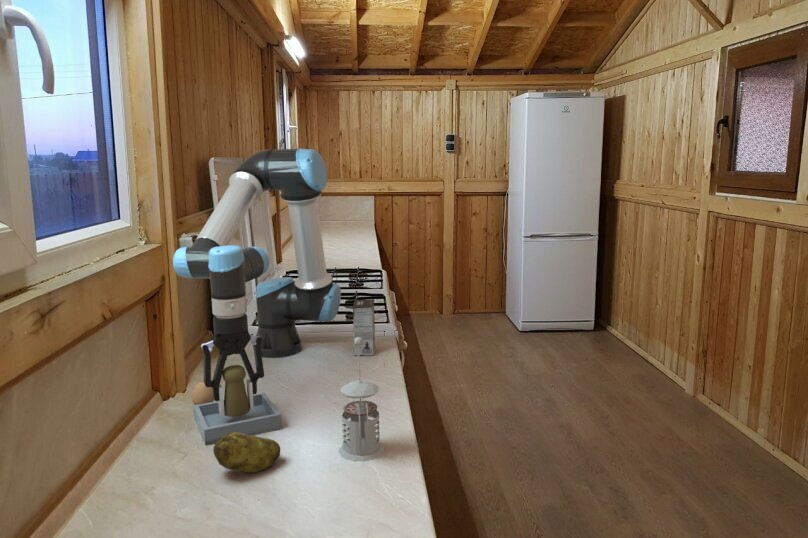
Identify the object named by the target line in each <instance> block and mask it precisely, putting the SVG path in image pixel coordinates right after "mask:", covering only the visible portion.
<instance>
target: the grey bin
mask: <svg viewBox="0 0 808 538" xmlns="http://www.w3.org/2000/svg"><path fill="white" fill-rule="evenodd" d="M247 399H248V398H247ZM253 404H254V409H252V410H250V411H249V412H248V413H247V414H245V415H242V416H238V417H228V416H225V415H221V414H220V412H219V403H218V401H215V400H214V402H210V403H205V404H199V405H194V404H193V416H194V421H195V423H197V424H196V425H197V428H198V431H199V430H200V431H199V434H200V435H201V438H202V441H203V443H204V445H205V446H208V445H212V444H215V443H216V442H217V440H218V439H219V438H220V437H223V436H224V435H226V434H230V433H243V434H247V435H251V436H256V435H259V434H264V433H268V432H273V431H277V430H282V427H283V426H282V414H281V413H280V411H279V410H278V409H277V407H276V405H274V403H273V402H272V401H271V399H270V397H269V396H268V395H267V394H266V392H259V393H258V392H257V393H256V394H253Z"/></svg>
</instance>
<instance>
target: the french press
mask: <svg viewBox="0 0 808 538" xmlns="http://www.w3.org/2000/svg"><path fill="white" fill-rule="evenodd" d="M354 343H355V344H358V353H359V356H358V379H357V380H354V381H350V382H347V384H345V385H343V386H342V387H341V388H340V393H341V394H342V395H343V396H344V397H346V398H350V399H359V400H353V401H351V402H347V403H346V404H345V405H344V406H343V412H342V415H341V421H342V422H343V423H342V424H341V425H342V427H341V428H342V431H341V432H342V439H343V440H342V445H341V446H340V447H339V449H338V454H339V456H340V457H341V458H344V459H345V460H348V461H353V462H366V461H371V460H374V458H375V459H377V458H379V457H381V456H382V455H383V454H384V452H385V446H384V445H383V444H382V443H381V442H380V438H381V437H380V412H379V411H378V405H377V404H376V403H375V402H373V401H367V400H362V399H366V398H367V399H368V398H370V397H372V396H375V395H376V394H377V393H378V392H379V390H380V387H379V386H378V385H377V384H376V383H374V382H371V381H368V380H365V379H364V380H361V359H360V357H361V356H360V348H359V344H362V343H363V339H362V338H360V337H357V338H355V339H354V338H353V344H354ZM369 417H370V419H369ZM371 418H372V419H371ZM349 419H350V420H349ZM346 432H347V433H346Z"/></svg>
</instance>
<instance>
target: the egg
mask: <svg viewBox="0 0 808 538" xmlns="http://www.w3.org/2000/svg"><path fill="white" fill-rule="evenodd" d="M191 401H192V404H193V406H194V405H199V404H205V403H210V402H215V400H214V398H213V388H212V387H206V386H205V384H204V381H201V382H198V383H196V385H195V386H194V388H193V389H192V393H191Z"/></svg>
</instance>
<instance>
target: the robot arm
mask: <svg viewBox="0 0 808 538" xmlns="http://www.w3.org/2000/svg"><path fill="white" fill-rule="evenodd" d="M327 178H328V174H327V168H326V163H325V162H324V159H323V157H322V155H321V154H320V153H319V152H318V151H317V150H315V149H309V148H308V149H307V148H280V149H275V148H273V149H272V148H271V149H270V148H269V149H268V148H267V149H263V150H259V151H257V152H254V153H253V154H252V155H250V156H248V157H247V158H246V159H244V160H243V161H242V162H241V163H240V164H239V165H238V166H237V167H236V168H235V169H234V171H233V172H232V173H231V175H230V177H229V179H228V184H229V186H228V187H227V188H226V190H225V192H224V194H223V195H222V197H221V198H220V200H219V202H218V204H217V205H216V206H215V208H214V210H213V211H212V213H211V215H210V216H209V218H208V219H207V221H206V223H205V224H204V226H203V227H202V228H201V230H200V233H199V234H198V236H197V237H196V238H195V240H194V242H193V243H192V245H191V246H190V247H189V246H185V247H179V248H178V249H177V250H176V251H175V252H174V254H173V259H172V266H173V270H174V271H175V273H176V275H177V276H178V277H181V278H186V279H193V280H197V279H201V280H202V279H203V280H204V279H205V280H207V279H209V280H210V281H209V282H210V293H211V294H210V295H211V309H212V310H211V312H212V314H213V317H212V320H213V321H212V324H213V325H212V326H213V337H212V340H210V341H207V342H202V343H200V347H201V350H202V353H203V382H204V384H205V386H206V387H212V388H213V398H214V402H215V401H218V403H219V412H220V414H221V415H225V413H224V389H223V386H222V384H221V382H222V378H223V376H222V373H223V370H224V369H225V365H226V360H228V356H231V355H239V356H240V359H241V361H242V363H243V365H244V366H243V367H244V369H245V371H246V374H247V375H248V377H249V379H246V381H245V382H246V383H245V384H246V394H247V398H248V404H249V408H250V410H252V409H254V404H253V394H258V388H257V387H258V383H257V382H258V381H259V379H263V378H264V377H265V371H264V363H263V357H266V358H282V357H287V356H292V355H295V354H298V353H299V352H300V351H301V350H302V345H303V344H302V340H301V337H300V334H299V331H298V329H297V327H296V321H306V322H307V321H309V322H319V323H321V322H331V321H333V320H334V319H335V318H336V317H337V315H338V312H339V308H340V305H341V298H342V296H341V295H342V291H341V290H342V289H341V287H340V285H339V284H337V283H334V282H333V276H332V275H331V274H330V273H328V272H327V265H326V257H325V250H324V249H325V248H324V244H323V236H322V235H323V234H322V227H321V218H320V213H319V212H320V211H319V205H318V203H319V202H318V200H319V199H320V197H321V196H322V191H323V190H324V189H325V188H326V187H327V183H328V181H327V180H328V179H327ZM268 191H280V197H281V200H282V201H283V202H285V203H286V204H287V207H288V215H289V220H290V221H289V222H290V223H289V224H290V229H291V235H292V240H293V241H292V242H293V248H294V255H295V256H294V257H295V262H296V267H297V268H296V269H297V275H298V277H297V278H296V279H295V280H294V278H293V277H291V276H289V277H288V276H284V277H276V278H271V279H270V278H269V279H266V280H263V281H260V282H259V283H258V284H257V285H256V286H255V288H256V291H255V295H256V296H255V299H256V301H255V302H256V313H257V315H256V316H257V332H256V334H255V335H252V334H250V332H249V325H248V324H249V322H248V315H247V311H248V310H247V309H248V307H247V293H246V283H248V282H250V281H252V280H255V279H258V278H260V277H261V276H262V275H264V274H265V273H266V272H267V271H268V269H269V267H270V257H269V254H268V253H267V252H266V251H265V249H263V248H262V247H259V246H247V247H245V248H242V247H241V246H240V245H239V246H238V245H230V244H231V243H230V242H231V241H232V239H233V238H234V236H235V234H236V232H237V231H238V229H239V227H240V225H241V223H242V222H243V220H244V218H245V216H246V215H247V214H248V213H247V212H248V211H249V209H250V207H251V205H252V204H253V202H254V201H255V200H257V199H259V198H260V197H261V196H262V194H263V193H264V192H268ZM249 342H250V343H251V344H252V346H253V348H252V349H253V355H254V356H253V357H254V361H255V363H254V364H255V371H254V369H253V366H252V364H251V361H250V359H249V357H248V353H247V352H246V347H247V346H248V344H249ZM213 347H215V348H217V350H218V354H217V355H218V356H217V357H218V358H217V360H216V365H215V368H214V373H213V377H212V358H211V357H212V355H211V353H212V351H213Z"/></svg>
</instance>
